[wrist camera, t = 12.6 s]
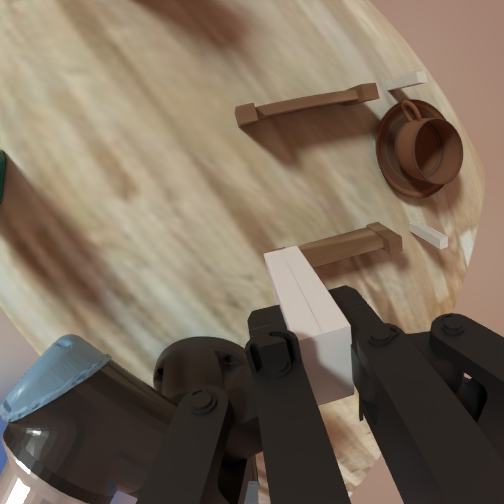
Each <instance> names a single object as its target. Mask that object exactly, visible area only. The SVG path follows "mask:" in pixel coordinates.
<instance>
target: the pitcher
mask: <svg viewBox="0 0 504 504" xmlns="http://www.w3.org/2000/svg"><path fill="white" fill-rule="evenodd" d="M5 163H6V162H5V156H4V154H3V152H2V151H1V150H0V203H1V200H2V192H3V181H4V172H5Z"/></svg>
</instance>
